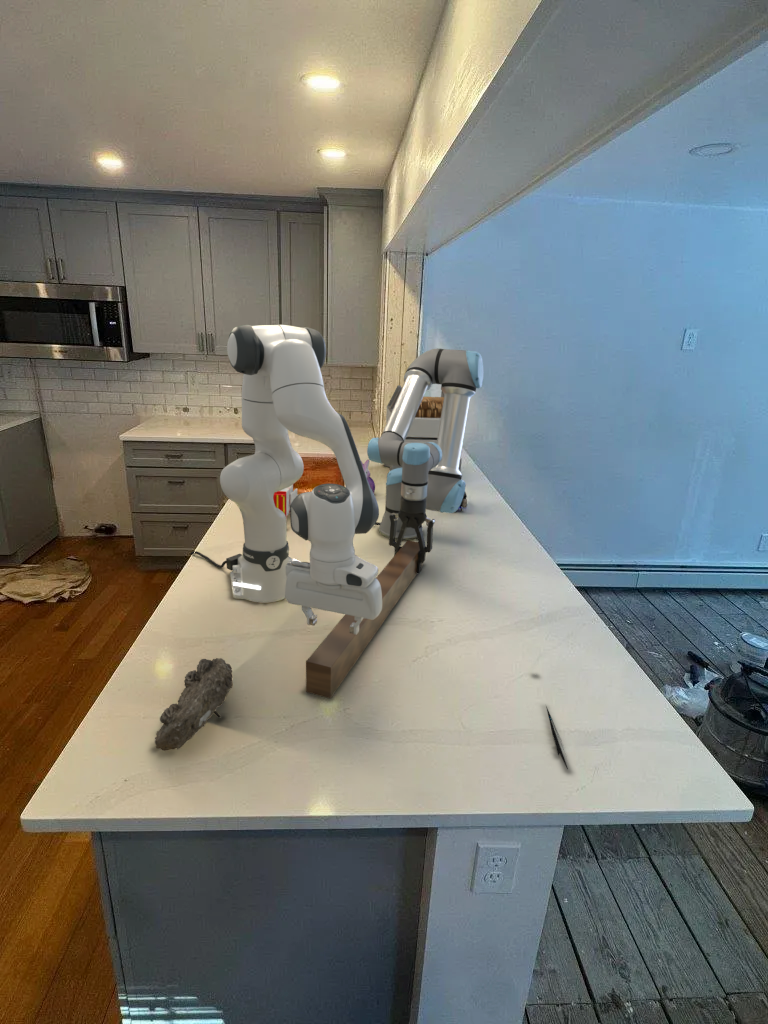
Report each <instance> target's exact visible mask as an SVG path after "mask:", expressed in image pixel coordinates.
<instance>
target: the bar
mask: <svg viewBox="0 0 768 1024" xmlns="http://www.w3.org/2000/svg"><path fill="white" fill-rule="evenodd" d="M400 547H401V549H400V550H399V551H398V552H397V553H396V555H395V556H393V557H392V558H391V559H390V560H389V562H388V563H386V565H385V566H384V568H383V569H382V570H381V571H380V572H379V573H378V574H377V576H376V579H377V580H378V581H379V583H380V585H381V591H382V610H381V612H380V614H379V615H378V616H377V617H376V618H375V619H373V620H371V619H366V618H363V620H362V621H361V623H360V624H359V632H358V633H357V635H356V634H351V633H349V631H350V629H349V626H350V625H352V623H353V622H354V623H356V622H357V621H356V620H355V616H351V615H346V614H343V616H342V618H340V620H339V621H338V622H337V623H336V625H335V626H334V627H333V628H332V629H331V631H330V632H329V633H328V634H327V635H326V637H325V638H324V639H323V640H322V641H321V643H320V644H319V645H318V646H317V647H316V649H314V651H313V652H312V653H311V654H310V656H309V657H308V658H307V659H306V660H305V692H306V693H308V694H312V695H316V696H320V697H324V698H328V699H332V697H333V696H334V694H335V692H336V691H337V690H338V688H339V687H340V685H341V684H342V683H343V681H344V680H345V678H347V675H348V674H349V673H350V671H351V669H352V668H353V667H354V666H355V664H356V663H357V661H358V660H359V658H360V657H361V656H362V653H363V652H364V651H365V649H366V648H367V646H368V645H369V644H370V642H371V641H372V639H373V638H374V636H376V634H377V632H378V631H379V629H380V628H381V627H382V625H383V623H384V622H385V620H386V619H387V618H388V616H389V615H390V613H391V612H392V610H393V609H394V607H395V606H396V604H397V603H398V602H399V600H400V599H401V597H402V596H403V594H404V593H405V592H406V590H407V588H408V587H409V586H410V585H411V583H412V581H413V580H414V579H415V577H416V576H417V575H418V573H417V558H418V552H419V551H420V548H419V543H418V541H414V540H405V542H404V544H403V545H401V546H400ZM423 565H424V563H422V567H423Z"/></svg>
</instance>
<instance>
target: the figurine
mask: <svg viewBox="0 0 768 1024" xmlns="http://www.w3.org/2000/svg"><path fill="white" fill-rule="evenodd" d="M361 463H362V466H363V469H364V472H365V475H366V477H367V480H368V483H369V485H370V487H371V489H372V491H373V493H374V494H375V492H376V483H375V480H374V479H373V478H372V477H371V473H370V470H369V465H370V460H369V459H365V462H364V463H363V461H362V460H361Z"/></svg>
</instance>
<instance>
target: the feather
mask: <svg viewBox="0 0 768 1024" xmlns="http://www.w3.org/2000/svg"><path fill="white" fill-rule="evenodd" d="M535 676H537V674H536V673H535ZM545 708H546V712H547V716H548V719H549V725H550V730H551V733H552V738H553V741H554V745H555V748H556V753H557V755H558V756H559V755H560V757H561V759H562V761H563V763H564V766H565V767H566V769H567V770H568V769H569V768H568V765H567V762H566V759H565V756H564V754H565V755H566V756H567V754H566V753H563V751H565V750H566V749H565V748H566V747H564V745H560V744H561V743H563V742H562V738H561V737H560V734H559V732H558V728H557V727H556V725H555V723H554V720H553V718H552V716H551V713H550V711H549V709H548V706H547V705H545ZM561 747H562V748H561ZM562 750H563V751H562Z"/></svg>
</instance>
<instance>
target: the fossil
mask: <svg viewBox="0 0 768 1024" xmlns="http://www.w3.org/2000/svg"><path fill="white" fill-rule="evenodd" d="M183 682H184V689H182V692H180V695H179V697H178V699H177V703H170V705H169V706H168V707H166V708H165V709H164V710H163V712H162V713H161V714H160V716H159V721H160V723H161V724H162V725H161V726H160V728H159V730H157V731H156V733H155V737H154V744H155V748H156V749H160V750H161V751H162V752H167V751H173V750H180V749H182V747H184V746H185V744H186V743H188V741H190V740H191V739H192V738H193V737H194V736H195V735H196V734H197V733H198V732H199V731H200V730H201V729H202V728H203V727H205V725H206V724H207V722H208V720H209V719H210V718H212V716H213V715H215V716H216V717H217V718H218V719H221V717H222V715H221V714H220V713H219V712H218V711H217V708H218V707H221V706H222V705H223V704H224V703H225V701H226V698H227V696H228V694H229V693H230V690H231V689H232V688H233V686H234V682H233V668H232V666H231V665H230V664H229V663H227V661H226V660H224V659H223V658H221V657H220V658H217V657H215V658H213V659H207V658H201V659H199V661H198V664H197V665H196V669H194V670H190V671H187V673H186V674H185V676H184V680H183Z"/></svg>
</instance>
